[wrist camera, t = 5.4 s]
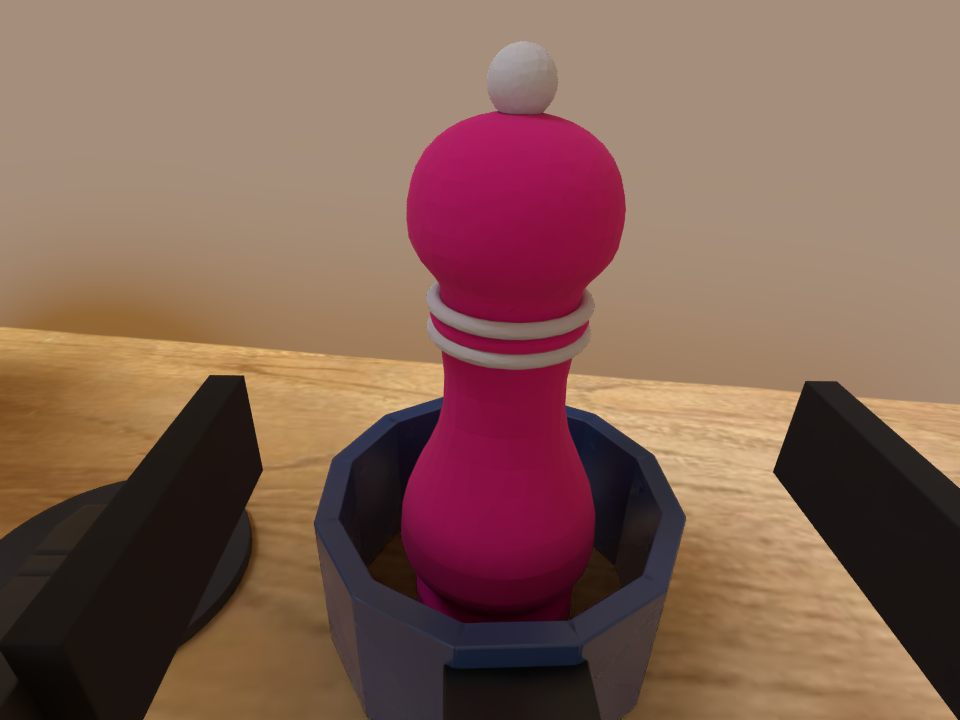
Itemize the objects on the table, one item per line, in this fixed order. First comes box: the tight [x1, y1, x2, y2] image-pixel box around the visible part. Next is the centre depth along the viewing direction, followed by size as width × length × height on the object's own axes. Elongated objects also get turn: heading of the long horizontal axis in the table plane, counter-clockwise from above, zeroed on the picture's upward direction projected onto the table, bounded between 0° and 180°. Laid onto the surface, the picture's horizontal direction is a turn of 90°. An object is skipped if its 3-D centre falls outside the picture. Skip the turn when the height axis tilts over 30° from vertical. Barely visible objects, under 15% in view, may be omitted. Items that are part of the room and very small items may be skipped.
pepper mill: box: [401, 42, 626, 623], centre depth 18 cm, size 7×7×20 cm
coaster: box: [0, 480, 252, 647], centre depth 24 cm, size 11×11×1 cm
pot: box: [314, 397, 686, 720], centre depth 22 cm, size 13×16×6 cm
